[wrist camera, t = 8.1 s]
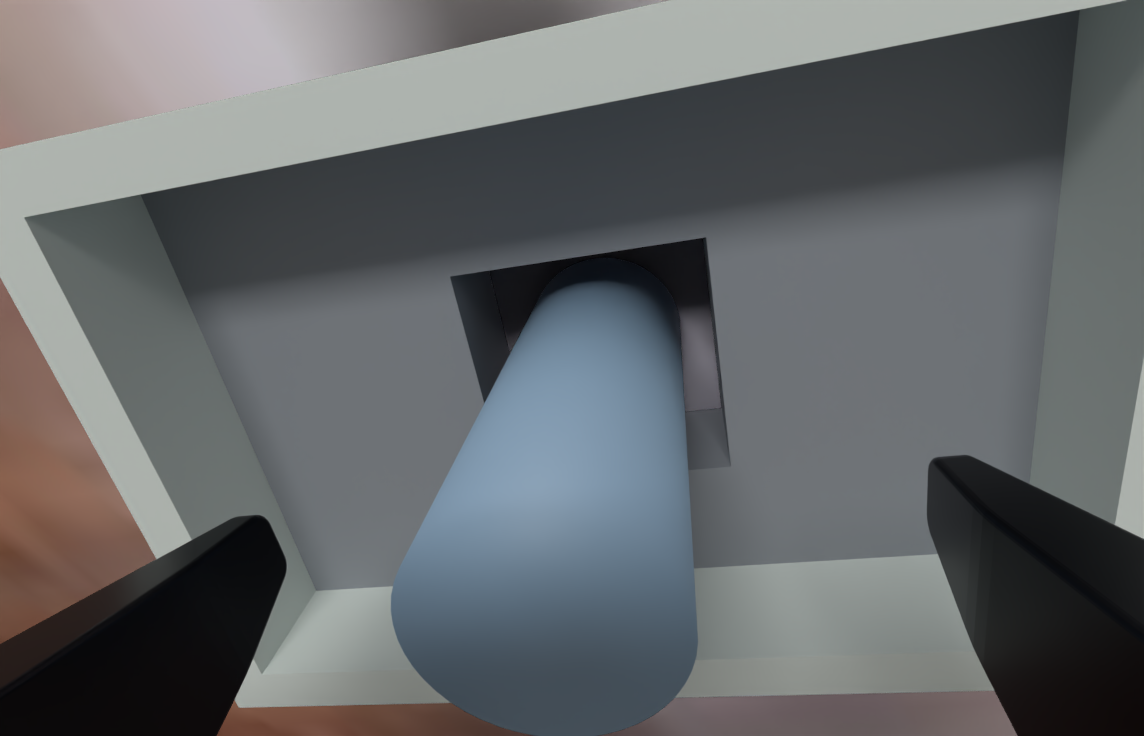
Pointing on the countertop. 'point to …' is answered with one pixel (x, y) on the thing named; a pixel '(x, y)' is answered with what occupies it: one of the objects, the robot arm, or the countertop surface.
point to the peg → (565, 523)
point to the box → (606, 224)
